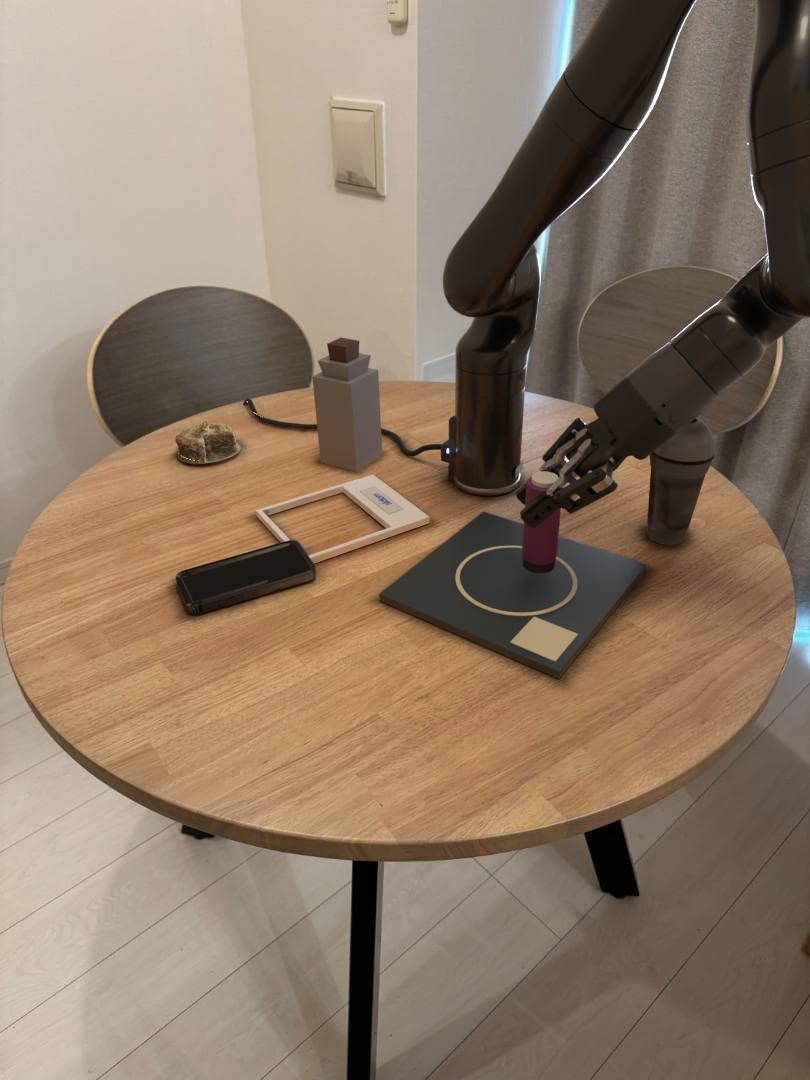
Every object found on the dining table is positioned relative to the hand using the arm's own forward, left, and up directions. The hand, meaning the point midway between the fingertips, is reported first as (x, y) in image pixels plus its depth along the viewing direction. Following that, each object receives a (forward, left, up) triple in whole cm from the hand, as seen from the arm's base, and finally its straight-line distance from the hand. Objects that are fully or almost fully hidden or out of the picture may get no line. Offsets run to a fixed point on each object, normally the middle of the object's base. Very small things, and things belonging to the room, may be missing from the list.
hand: (524, 510), depth 79 cm
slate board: (0, -1, -9) cm, 10 cm away
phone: (-26, -18, -9) cm, 33 cm away
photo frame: (-26, -1, -10) cm, 28 cm away
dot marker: (+2, +1, -7) cm, 7 cm away
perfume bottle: (-37, +14, -10) cm, 41 cm away
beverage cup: (+10, +19, -10) cm, 24 cm away
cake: (-57, +3, -10) cm, 58 cm away
